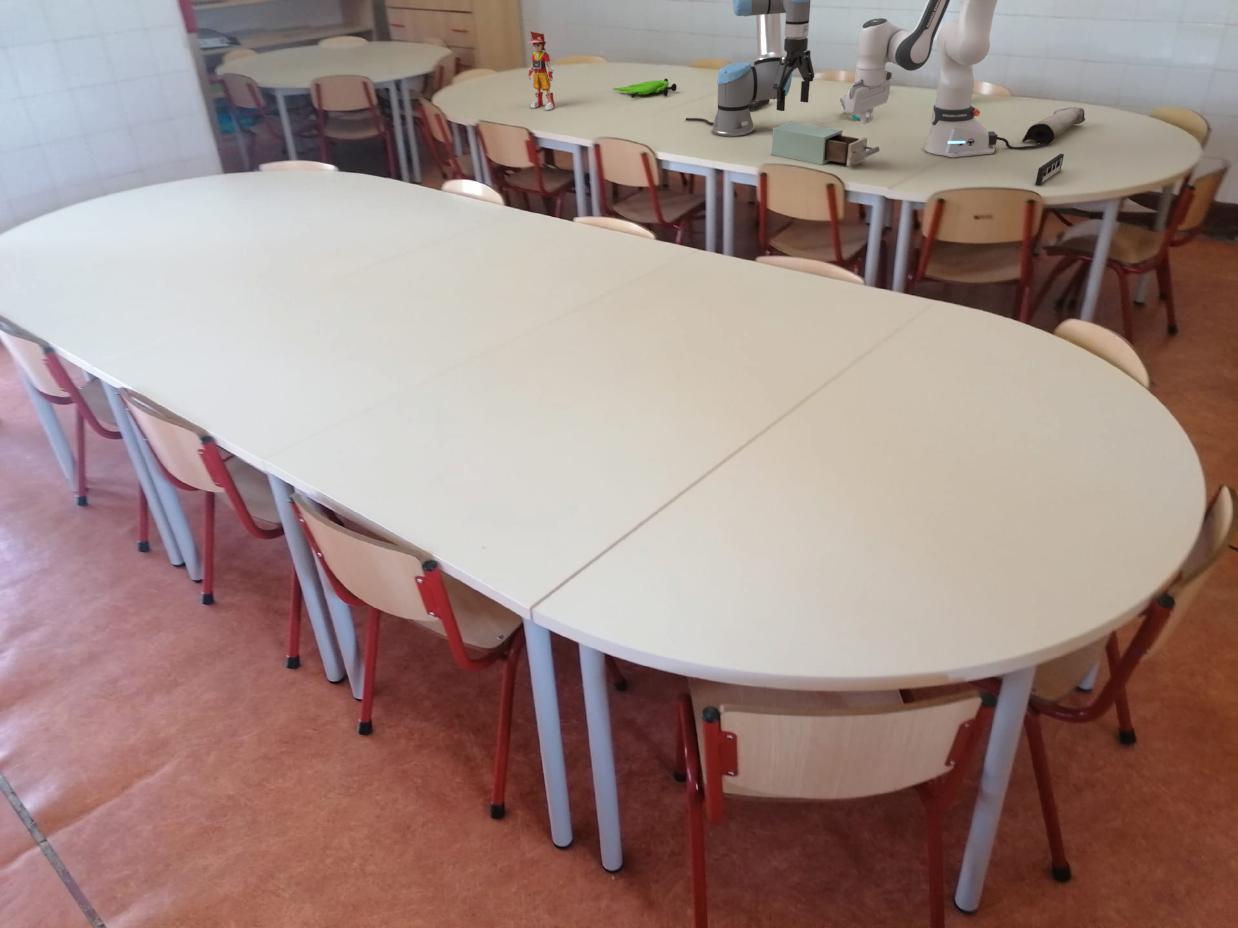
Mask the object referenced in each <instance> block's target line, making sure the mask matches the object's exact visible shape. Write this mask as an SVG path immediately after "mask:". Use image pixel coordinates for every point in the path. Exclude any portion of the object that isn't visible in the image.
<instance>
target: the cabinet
mask: <svg viewBox="0 0 1238 928" xmlns="http://www.w3.org/2000/svg"><path fill="white" fill-rule="evenodd" d="M836 135H843V130H842V129H838V128H832V127H827V126H820V125H815V124H809V123H804V122H797V121H792V120H791V121H789V122H786V123H782V124H780V125H778V126H774V127H773V128H772V143H771V155H772V156H777V157H782V158H786V159H792V160H796V161H801V162H802V161H803V162H807V163H812V164H818V165H825V164H828V163H829V162H831V161H830V160H825V159H824V157H825V144H826V139H829V138H831V137H833V136H836Z"/></svg>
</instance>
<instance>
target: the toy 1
mask: <svg viewBox="0 0 1238 928" xmlns="http://www.w3.org/2000/svg"><path fill="white" fill-rule="evenodd" d="M529 33H530V35H531V36H528V37H527V38H528V39H529V40H528V41H527V43H529V44H530V43H531V44H532V48H533V50H534V51H533V52H532V55H531V58H530V59H531V63H530V66H528V74H527V75H528V76H527V77H528V79H529V80H531V75H532V74H533V84H532V85H533V86H532V87H533V88H534V89H535V90H536V92H534V95H535V97H536V100H535V101H533V102H531V105H530V108H531V109H535V108H538V107H542V106H544V101H543V100H544V99H543V95H544V92H546V94H545V97H546V99H547V103H546V104H545V106H544V110H546V111H549V110H553V109H554V107H555V106H556V105H555V99H554V92H551V91H550V90H551V86H552V84H551V82H552V81H553V80H554V77H553V73H554V71H555V70H554V69H552V68H551V63H550V61H551V59H550V58H551V57H550V54H549V53H548V52H547V50H546V48H545V46H546V44H547V41H545V35H544V33H543V32H542V33H539V32H535V31H529Z"/></svg>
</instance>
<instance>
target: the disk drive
mask: <svg viewBox="0 0 1238 928" xmlns="http://www.w3.org/2000/svg"><path fill="white" fill-rule="evenodd" d="M770 100H771V99H768V100H756V101H750V102H749V111H756V110H758V109H760V108H761V107H763V106H765V105H768V104H769V103H770Z"/></svg>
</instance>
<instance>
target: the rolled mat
mask: <svg viewBox="0 0 1238 928" xmlns="http://www.w3.org/2000/svg"><path fill="white" fill-rule="evenodd" d="M1085 121H1086V118H1085V109H1084V108H1083V107H1075V106H1074V107H1067V108H1066V107H1065V108H1059V109H1056V110H1054V112H1053V114H1052V115H1049V116H1047V117H1045V118H1043V119H1041V120H1039V121H1038V122H1036V123H1034V124H1032V125H1031V126H1030V127H1028V128H1027V131H1026V133H1025V135H1024V136H1023V138H1022V139H1021V140H1022V141H1021V143H1025V142H1026V141H1034V142H1035V143H1036V144H1037V145H1038V144H1042V143H1046V145H1045V146H1049V145H1050V144H1052V143H1053V142H1054V141H1056V140H1057V138H1058V137H1060V135H1061V134H1062V133H1063V132H1065V131H1066V130H1067V129H1068V128H1070V127H1071V126H1073V125H1080V124H1082V123H1084V122H1085Z"/></svg>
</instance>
